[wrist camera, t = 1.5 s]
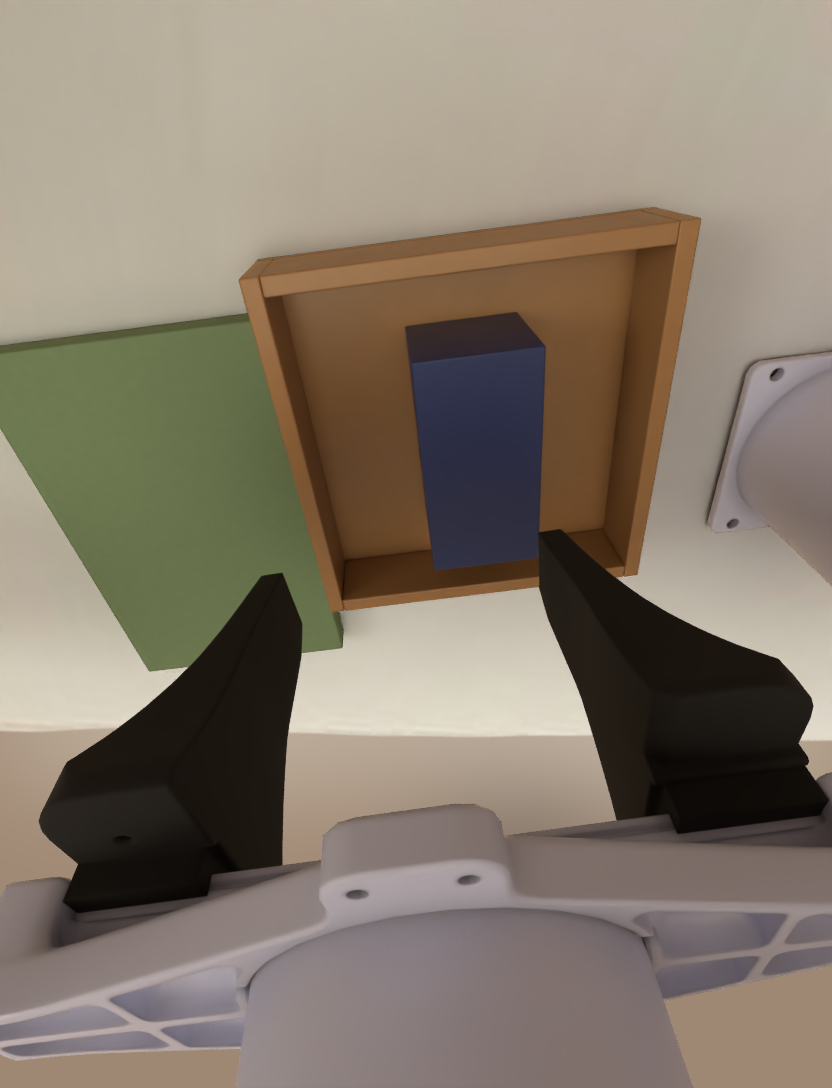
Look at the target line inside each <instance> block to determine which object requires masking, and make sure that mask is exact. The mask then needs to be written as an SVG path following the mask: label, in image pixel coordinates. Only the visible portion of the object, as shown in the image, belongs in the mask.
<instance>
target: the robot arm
mask: <svg viewBox="0 0 832 1088" xmlns="http://www.w3.org/2000/svg"><path fill="white" fill-rule="evenodd" d="M777 368H778V371H777V373H776V374H775V375H774V376H773V377H770V375H771V373H772V372H773V371H774V370H775V369H777ZM732 519H733V521H731V522H730V523H728V522H729V521H730V520H732ZM707 525H708V527H709V528H710V529H711V530H712V531H713V532H715V533H722V532H731V531H739V530H747V529H755V528H763V527H771V528H772V529H773V530H774V531H775V532H776V533H778V534H779V535H780V536H781V537H782V538H783V539H784V540H785V541H786V542H787V543H788V544H789V545H790V546H791V547H792V548H793V549H794V550H795V551H796V552H797V553H798V554H799V555H800V556H801V557H802V558H803V559H804V560H805V561H806V562H807V563H808V564H809V565H810V566H811V567H812V568H813V569H815V570H816V571H817V572H818V573H819V574H820V575H821V576H822V577H823V578H824V579H825V580H826V581H827V582H828V583H829V584H830V585H831V586H832V352H825V353H817V354H809V355H801V356H794V357H786V358H778V359H770V360H762V361H759V362H756V363H755V364H753V365H752V366H751V367H750V368H749V370H748V371H747V374H746V377H745V380H744V384H743V388H742V392H741V396H740V400H739V403H738V407H737V411H736V415H735V419H734V423H733V426H732V430H731V434H730V438H729V442H728V445H727V449H726V453H725V457H724V461H723V465H722V468H721V472H720V476H719V480H718V484H717V488H716V491H715V495H714V499H713V503H712V507H711V511H710V514H709V518H708V524H707ZM538 549H539V589H540V592H541V596H542V600H543V603H544V607H545V610H546V613H547V617H548V620H549V622H550V625H551V627H552V629H553V632H554V634H555V636H556V639H557V641H558V643H559V646H560V648H561V650H562V653H563V655H564V657H565V660H566V662H567V664H568V666H569V669H570V671H571V673H572V676H573V678H574V680H575V683H576V685H577V688H578V690H579V693H580V696H581V698H582V702H583V705H584V708H585V711H586V714H587V718H588V721H589V724H590V727H591V731H592V734H593V737H594V741H595V744H596V747H597V751H598V754H599V758H600V761H601V764H602V768H603V772H604V775H605V779H606V782H607V785H608V790H609V793H610V797H611V800H612V804H613V808H614V812H615V815H616V819H617V821H611V822H604V823H596V824H588V825H581V826H574V827H566V828H558V829H551V830H543V831H536V832H528V833H521V834H514V835H503V829H502V824H501V821H500V820H499V818H498V817H497V816H496V814H495V813H494V812H493V811H491V810H490V809H487V808H484V807H481V806H478V805H475V804H450V805H442V806H435V807H428V808H421V809H413V810H406V811H398V812H391V813H384V814H377V815H370V816H362V817H356V818H352V819H349V820H346V821H342V822H338V823H337V824H336V825H335V826H334V827H332V828H331V829H330V830H329V831H328V832H326V834H324V835H323V845H322V858H321V859H322V860H319V861H312V862H304V863H296V864H289V865H282V841H283V801H284V781H285V764H286V748H287V737H288V730H289V723H290V718H291V712H292V707H293V701H294V696H295V690H296V685H297V679H298V673H299V667H300V661H301V654H302V628H303V624H302V621H301V618H300V616H299V613H298V611H297V608H296V606H295V603H294V601H293V598H292V595H291V593H290V590H289V588H288V585H287V583H286V580H285V578H284V575H283V572H282V573H276V574H269V575H263V576H261V577H260V578H259V580H258V581H257V582H256V584H255V585H254V586H253V588H252V589H251V590H250V592H249V593H248V595H247V596H246V597H245V599H244V600H243V602H242V603H241V604H240V606H239V607H238V608H237V610H236V611H235V612H234V614H233V615H232V616H231V618H230V619H229V620H228V622H227V623H226V624H225V626H224V627H223V628H222V630H221V631H220V632H219V633H218V634H217V636H216V637H215V638H214V639H213V640H212V642H211V643H210V644H209V645H208V646H207V648H206V649H205V650H204V651H203V652H202V653H201V655H200V656H199V657H198V658H197V659H196V660H195V661H194V662H193V663H192V664H191V665H190V666H189V667H188V668H187V669H186V670H185V671H184V672H183V673H182V674H181V675H180V676H179V677H178V678H177V679H176V680H175V681H174V682H173V683H172V684H171V685H170V686H169V687H168V688H166V689H165V690H164V691H163V692H162V693H161V694H160V695H158V696H157V697H156V698H155V699H154V700H153V701H152V702H150V703H149V704H148V705H147V706H146V707H145V708H143V709H142V710H141V711H140V712H138V713H137V714H136V715H135V716H133V717H132V718H131V719H129V720H128V721H127V722H125V723H124V724H123V725H121V726H120V727H119V728H117V729H116V730H115V731H113V732H112V733H111V734H109V735H108V736H106V737H105V738H103V739H102V740H100V741H99V742H97V743H96V744H94V745H93V746H91V747H90V748H88V749H87V750H85V751H84V752H82V753H80V754H79V755H77V756H76V757H74V758H73V759H71V760H69V761H68V762H67V763H66V765H65V766H64V768H63V770H62V772H61V775H60V776H59V778H58V780H57V782H56V784H55V786H54V788H53V790H52V792H51V794H50V796H49V798H48V800H47V802H46V804H45V806H44V808H43V810H42V812H41V815H40V818H39V824H40V827H41V830H42V832H43V833H44V834H45V835H46V836H47V838H48V839H49V840H50V841H52V842H53V843H54V844H55V845H56V846H57V847H59V848H60V849H61V850H62V851H63V852H64V853H66V854H67V855H68V856H69V857H71V858H72V859H73V860H74V861H75V862H76V863H78V866H77V868H76V871H75V873H74V875H73V878H72V880H70V879H67V878H62V877H51V878H43V879H36V880H29V881H21V882H14V883H10V884H9V885H7V886H6V888H5V890H4V892H3V894H2V896H1V898H0V1055H2V1056H5V1057H8V1058H10V1059H13V1060H17V1061H18V1060H27V1059H37V1058H47V1057H56V1056H68V1055H81V1054H94V1053H95V1054H96V1053H115V1052H137V1051H138V1052H139V1051H140V1052H141V1051H176V1050H208V1049H209V1050H212V1049H241V1052H240V1059H239V1066H238V1073H237V1079H236V1086H235V1088H693V1086H692V1083H691V1080H690V1077H689V1074H688V1072H687V1069H686V1066H685V1062H684V1060H683V1057H682V1054H681V1051H680V1048H679V1045H678V1042H677V1039H676V1036H675V1033H674V1030H673V1027H672V1024H671V1021H670V1018H669V1015H668V1012H667V1009H666V1006H665V1003H664V1001H666V1000H670V999H675V998H680V997H685V996H690V995H694V994H699V993H703V992H708V991H713V990H718V989H722V988H727V987H731V986H737V985H741V984H746V983H750V982H755V981H760V980H764V979H769V978H774V977H778V976H783V975H788V974H792V973H797V972H802V971H807V970H812V969H817V968H822V967H827V966H832V772H831V773H827V774H825V775H823V776H821V777H819V778H818V779H817V780H814V778H813V776H812V775H811V774H810V772H809V771H808V769H807V768H806V766H805V765H808V763H809V760H808V757H807V755H806V754H805V752H804V751H803V750H802V748H801V746H800V745H799V744H798V743H799V741H800V739H801V737H802V735H803V733H804V731H805V728H806V726H807V724H808V722H809V720H810V717H811V714H812V710H813V703H812V699H811V697H810V695H809V694H808V693H807V692H806V690H805V689H804V688H803V686H802V685H801V684H800V682H799V681H798V680H797V679H796V677H795V676H794V675H793V674H792V673H791V672H790V671H789V670H788V669H787V667H786V666H785V665H784V664H783V663H782V662H781V661H780V660H779V659H777V658H774V657H771V656H768V655H765V654H762V653H760V652H757V651H754V650H751V649H748V648H745V647H742V646H739V645H737V644H734V643H732V642H729V641H727V640H724V639H722V638H719V637H717V636H715V635H712V634H710V633H708V632H706V631H703V630H701V629H699V628H697V627H695V626H693V625H691V624H689V623H687V622H685V621H683V620H681V619H679V618H677V617H675V616H673V615H671V614H670V613H668V612H666V611H664V610H663V609H661V608H659V607H658V606H656V605H654V604H653V603H651V602H649V601H648V600H646V599H645V598H643V597H641V596H640V595H639V594H637V593H636V592H634V591H633V590H631V589H630V588H629V587H627V586H626V585H625V584H623V583H622V582H621V581H619V580H618V579H617V578H616V577H614V576H613V575H612V574H611V573H609V572H608V571H607V570H606V569H605V568H603V567H602V566H601V565H600V564H599V563H597V562H596V561H595V560H594V559H593V558H592V557H590V556H589V555H588V554H587V553H586V552H585V551H584V550H583V549H582V548H581V547H580V546H578V545H577V544H576V543H575V542H574V541H573V540H572V539H571V538H570V537H569V536H568V535H567V534H566V533H565V532H564V531H562V530H561V529H556V530H550V531H544V532H538Z"/></svg>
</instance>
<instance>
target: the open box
mask: <svg viewBox="0 0 832 1088" xmlns="http://www.w3.org/2000/svg"><path fill="white" fill-rule="evenodd" d="M700 223H701V218H697V217H693V216H689V215H685V214H680V213H676V212H672V211H668V210H664V209H659V208H656V207H652V208H644V209H636V210H629V211H621V212H614V213H606V214H598V215H591V216H583V217H576V218H568V219H561V220H553V221H545V222H538V223H530V224H523V225H515V226H507V227H500V228H492V229H485V230H477V231H470V232H462V233H454V234H447V235H439V236H432V237H424V238H417V239H409V240H401V241H394V242H386V243H379V244H371V245H363V246H356V247H348V248H341V249H333V250H326V251H318V252H310V253H303V254H295V255H288V256H280V257H273V258H265V259H258V260H257V261H256V262H255V263H254V264H253V265H252V266H251V267H250V268H249V269H248V271H247V272H246V273H245V274H244V275H243V276H242V277H241V278H240V279H239V284H240V287H241V291H242V295H243V298H244V302H245V305H246V309H247V312H248V316H249V320H250V323H251V327H252V330H253V334H254V338H255V341H256V345H257V348H258V352H259V356H260V359H261V363H262V366H263V370H264V373H265V377H266V381H267V384H268V388H269V391H270V395H271V399H272V402H273V406H274V409H275V413H276V417H277V420H278V424H279V427H280V431H281V434H282V438H283V442H284V445H285V449H286V452H287V456H288V460H289V463H290V467H291V470H292V474H293V478H294V481H295V485H296V488H297V492H298V495H299V499H300V503H301V506H302V510H303V513H304V517H305V521H306V524H307V528H308V531H309V535H310V538H311V542H312V546H313V549H314V553H315V556H316V560H317V564H318V567H319V571H320V574H321V578H322V582H323V585H324V589H325V592H326V596H327V599H328V603H329V607H330V610H331V612H337V611H344V609H345V610H354V609H362V608H370V607H378V606H387V605H395V604H403V603H411V602H419V601H427V600H436V599H444V598H452V597H460V596H468V595H476V594H485V593H493V592H501V591H509V590H517V589H526V588H534V587H539V555H538V558H534V559H526V560H517V561H509V562H501V563H493V564H485V565H477V566H469V567H461V568H452V569H444V570H435V569H434V564H433V557H432V550H431V543H430V536H429V529H428V522H427V514H426V506H425V497H424V489H423V480H422V471H421V463H420V454H419V445H418V437H417V428H416V419H415V411H414V402H413V393H412V385H411V376H410V367H409V359H408V350H407V341H406V333H405V327H406V326H412V325H420V324H428V323H436V322H443V321H451V320H459V319H466V318H474V317H482V316H490V315H497V314H505V313H513V312H517V313H518V314H519V315H520V316H521V317H522V319H523V320H524V321H525V322H526V323H527V325H528V326H529V327H530V328H531V329H532V331H533V332H534V333H535V334H536V335H537V336H538V338H539V339H540V340H541V341H542V342H543V344H544V345H545V346H546V358H545V386H544V414H543V442H542V470H541V498H540V527H539V532H544V531H550V530H556V529H561V530H562V531H564V532H565V533H566V534H567V535H568V536H569V537H570V538H571V539H572V540H573V541H574V542H575V543H576V544H577V545H578V546H580V547H581V548H582V549H583V550H584V551H585V552H586V553H587V554H588V555H589V556H590V557H592V558H593V559H594V560H595V561H596V562H597V563H599V564H600V565H601V566H602V567H603V568H605V569H606V570H607V571H608V572H609V573H611V574H612V575H613V576H614V577H622V576H633V575H637V574H638V568H639V563H640V557H641V551H642V546H643V540H644V535H645V529H646V524H647V518H648V512H649V507H650V501H651V496H652V490H653V485H654V479H655V474H656V468H657V462H658V457H659V451H660V446H661V440H662V435H663V429H664V423H665V418H666V412H667V407H668V401H669V396H670V390H671V384H672V379H673V373H674V368H675V362H676V357H677V351H678V346H679V340H680V334H681V329H682V323H683V318H684V312H685V307H686V301H687V295H688V290H689V284H690V279H691V273H692V268H693V262H694V256H695V251H696V245H697V240H698V234H699V229H700Z"/></svg>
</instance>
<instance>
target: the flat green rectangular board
mask: <svg viewBox="0 0 832 1088" xmlns="http://www.w3.org/2000/svg"><path fill="white" fill-rule="evenodd" d="M0 429H1V430H2V432H3V434H4V435H5V437H6V439H7V440H8V442H9V444H10V445H11V447H12V448H13V450H14V452H15V453H16V455H17V457H18V458H19V460H20V461H21V463H22V465H23V466H24V468H25V470H26V471H27V473H28V475H29V476H30V478H31V479H32V481H33V483H34V484H35V486H36V488H37V489H38V491H39V492H40V494H41V496H42V497H43V499H44V501H45V502H46V504H47V506H48V507H49V509H50V510H51V512H52V514H53V515H54V517H55V519H56V520H57V522H58V523H59V525H60V527H61V528H62V530H63V532H64V533H65V535H66V537H67V538H68V540H69V541H70V543H71V545H72V546H73V548H74V550H75V551H76V553H77V555H78V556H79V558H80V559H81V561H82V563H83V564H84V566H85V568H86V569H87V571H88V572H89V574H90V576H91V577H92V579H93V581H94V582H95V584H96V586H97V587H98V589H99V590H100V592H101V594H102V595H103V597H104V599H105V600H106V602H107V603H108V605H109V607H110V608H111V610H112V612H113V613H114V615H115V617H116V618H117V620H118V621H119V623H120V625H121V626H122V628H123V630H124V631H125V633H126V634H127V636H128V638H129V639H130V641H131V643H132V644H133V646H134V648H135V649H136V651H137V652H138V654H139V656H140V657H141V659H142V661H143V662H144V664H145V665H146V667H147V669H148V670H149V671H158V670H166V669H174V668H183V667H189V666H190V665H191V664H192V663H193V662H194V661H195V660H196V659H197V658H198V657H199V656H200V655H201V653H202V652H203V651H204V650H205V649H206V648H207V646H208V645H209V644H210V643H211V642H212V640H213V639H214V638H215V637H216V636H217V634H218V633H219V632H220V631H221V630H222V628H223V627H224V626H225V624H226V623H227V622H228V620H229V619H230V618H231V616H232V615H233V614H234V612H235V611H236V610H237V608H238V607H239V606H240V604H241V603H242V602H243V600H244V599H245V597H246V596H247V595H248V593H249V592H250V590H251V589H252V588H253V586H254V585H255V584H256V582H257V581H258V580H259V578H260V577H261V576H263V575H269V574H276V573H282V572H283V575H284V578H285V580H286V583H287V585H288V588H289V590H290V593H291V595H292V598H293V601H294V603H295V606H296V608H297V611H298V613H299V616H300V618H301V621H302V624H303V628H302V653H306V652H315V651H323V650H331V649H339V648H342V647H343V633H344V631H343V628H342V624H341V620H340V617H339V613H338V611H337V612H331V610H330V607H329V603H328V599H327V596H326V592H325V589H324V585H323V582H322V578H321V574H320V571H319V567H318V564H317V560H316V556H315V553H314V549H313V546H312V542H311V538H310V535H309V531H308V528H307V524H306V521H305V517H304V513H303V510H302V506H301V503H300V499H299V495H298V492H297V488H296V485H295V481H294V478H293V474H292V470H291V467H290V463H289V460H288V456H287V452H286V449H285V445H284V442H283V438H282V434H281V431H280V427H279V424H278V420H277V417H276V413H275V409H274V406H273V402H272V399H271V395H270V391H269V388H268V384H267V381H266V377H265V373H264V370H263V366H262V363H261V359H260V356H259V352H258V348H257V345H256V341H255V338H254V334H253V330H252V327H251V323H250V320H249V316H248V314H241V315H234V316H226V317H218V318H211V319H203V320H195V321H188V322H180V323H172V324H165V325H157V326H149V327H142V328H134V329H126V330H119V331H111V332H103V333H96V334H88V335H80V336H73V337H65V338H57V339H50V340H42V341H34V342H27V343H19V344H11V345H4V346H0Z"/></svg>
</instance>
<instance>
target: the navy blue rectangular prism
mask: <svg viewBox="0 0 832 1088" xmlns="http://www.w3.org/2000/svg"><path fill="white" fill-rule="evenodd" d="M405 333H406V341H407V350H408V359H409V367H410V376H411V385H412V393H413V402H414V411H415V419H416V428H417V437H418V445H419V454H420V463H421V471H422V480H423V489H424V497H425V506H426V514H427V522H428V529H429V536H430V543H431V550H432V557H433V564H434V569H435V570H444V569H452V568H461V567H469V566H477V565H485V564H493V563H501V562H509V561H517V560H526V559H534V558H538V555H539V549H538V532H539V527H540V498H541V470H542V442H543V414H544V386H545V358H546V346H545V345H544V344H543V342H542V341H541V340H540V339H539V338H538V336H537V335H536V334H535V333H534V332H533V331H532V329H531V328H530V327H529V326H528V325H527V323H526V322H525V321H524V320H523V319H522V317H521V316H520V315H519V314H518V313H517V312H513V313H505V314H497V315H490V316H482V317H474V318H466V319H459V320H451V321H443V322H436V323H428V324H420V325H412V326H406V327H405Z"/></svg>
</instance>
